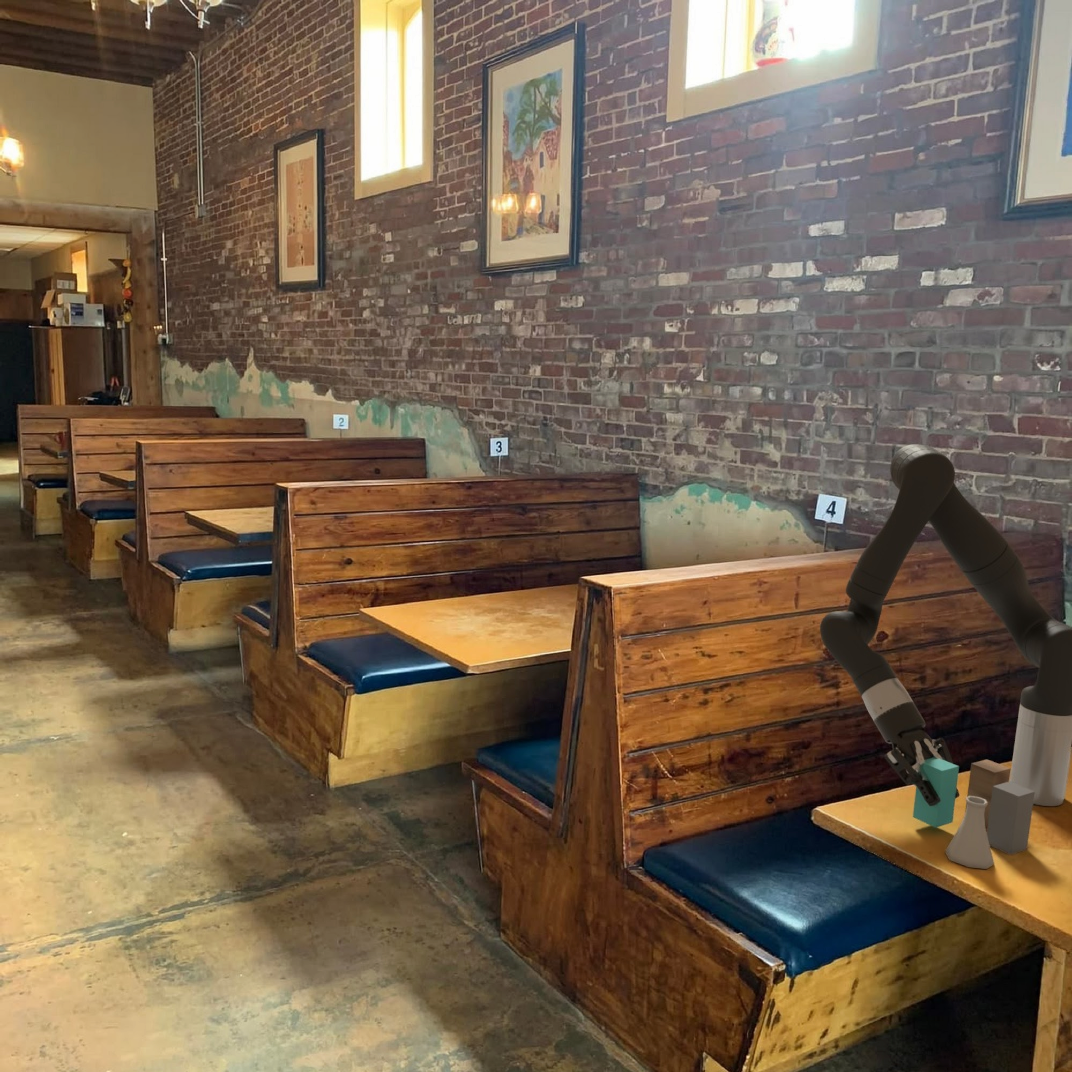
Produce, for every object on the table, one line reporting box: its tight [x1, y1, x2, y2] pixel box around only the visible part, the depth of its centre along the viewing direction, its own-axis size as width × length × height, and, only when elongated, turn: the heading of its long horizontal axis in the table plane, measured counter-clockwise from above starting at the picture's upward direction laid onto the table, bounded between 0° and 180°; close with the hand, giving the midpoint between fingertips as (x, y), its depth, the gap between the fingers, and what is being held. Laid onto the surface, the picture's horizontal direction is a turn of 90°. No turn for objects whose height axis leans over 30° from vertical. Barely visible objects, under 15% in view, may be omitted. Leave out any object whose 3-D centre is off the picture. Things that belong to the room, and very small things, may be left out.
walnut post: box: [964, 759, 1011, 828], centre depth 173 cm, size 4×4×10 cm
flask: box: [944, 796, 995, 870], centre depth 157 cm, size 7×7×10 cm
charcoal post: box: [986, 781, 1035, 856], centre depth 163 cm, size 4×4×10 cm
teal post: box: [912, 758, 960, 829], centre depth 168 cm, size 4×4×10 cm
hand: (945, 800), depth 166 cm, fingers closed on teal post, 4 cm apart
